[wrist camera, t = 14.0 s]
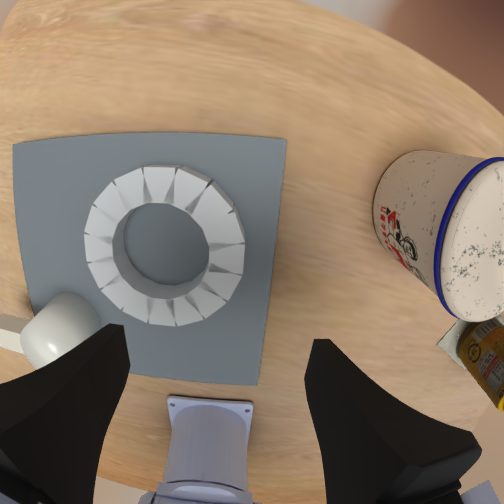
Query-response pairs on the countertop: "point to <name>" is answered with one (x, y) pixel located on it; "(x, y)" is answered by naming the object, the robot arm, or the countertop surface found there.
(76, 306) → the cream post on cylinder
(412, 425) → the robot arm
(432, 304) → the countertop surface
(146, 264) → the stand
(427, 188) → the teacup with lid
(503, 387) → the condiment
